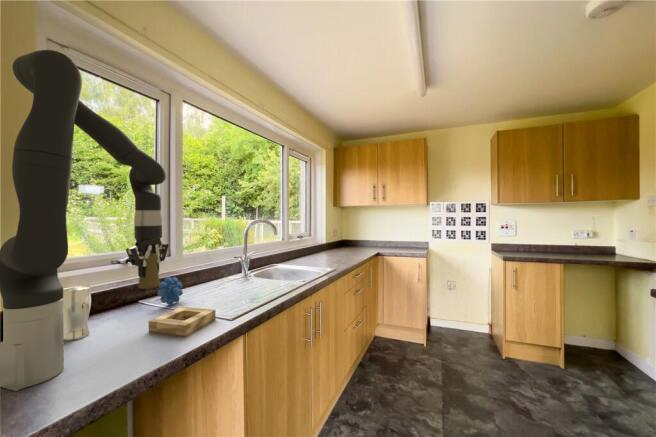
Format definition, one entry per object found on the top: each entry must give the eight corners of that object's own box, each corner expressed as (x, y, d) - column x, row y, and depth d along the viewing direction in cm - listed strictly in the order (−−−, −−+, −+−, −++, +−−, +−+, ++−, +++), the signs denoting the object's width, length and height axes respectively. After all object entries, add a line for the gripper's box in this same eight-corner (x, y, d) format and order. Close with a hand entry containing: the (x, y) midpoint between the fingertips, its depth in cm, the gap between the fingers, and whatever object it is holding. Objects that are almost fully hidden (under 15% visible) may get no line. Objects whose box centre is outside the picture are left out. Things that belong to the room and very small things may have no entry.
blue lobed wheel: (166, 310, 102) (166, 280, 102) (153, 309, 104) (153, 279, 104) (190, 301, 114) (189, 274, 114) (177, 300, 116) (177, 273, 115)
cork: (149, 289, 82) (148, 254, 82) (133, 288, 83) (132, 254, 83) (164, 284, 88) (164, 251, 88) (149, 283, 89) (148, 251, 89)
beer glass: (61, 336, 81) (61, 287, 81) (91, 329, 85) (91, 284, 85) (58, 344, 75) (57, 292, 75) (90, 337, 80) (90, 288, 80)
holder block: (184, 337, 80) (184, 325, 80) (148, 332, 83) (148, 321, 83) (215, 319, 93) (215, 309, 93) (183, 316, 97) (183, 306, 97)
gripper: (137, 225, 78) (137, 282, 78) (175, 223, 91) (175, 272, 92) (117, 225, 79) (118, 281, 80) (157, 223, 93) (158, 271, 93)
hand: (149, 276), depth 86 cm, fingers closed on cork, 3 cm apart
